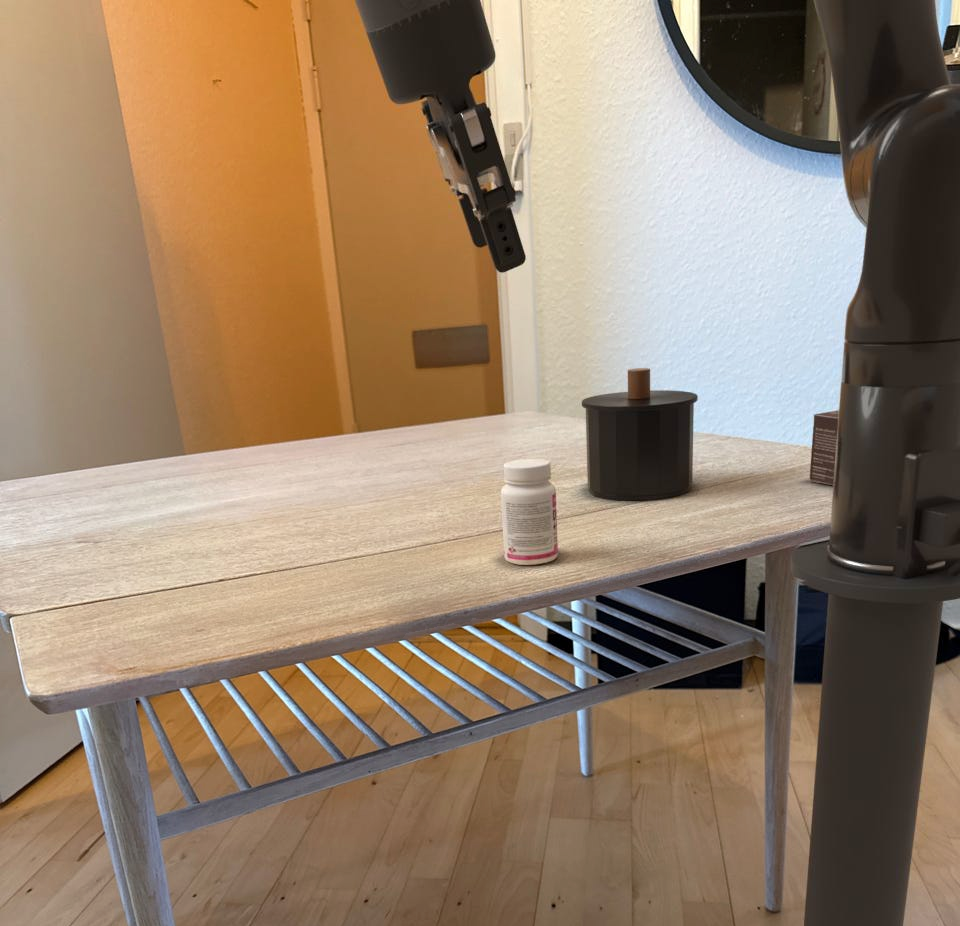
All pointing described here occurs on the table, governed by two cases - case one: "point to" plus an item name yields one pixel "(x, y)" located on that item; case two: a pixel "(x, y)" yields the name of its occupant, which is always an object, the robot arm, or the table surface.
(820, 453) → the box
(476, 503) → the table surface
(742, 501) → the table surface
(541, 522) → the pill bottle
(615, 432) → the pot
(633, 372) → the pot lid
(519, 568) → the table surface
